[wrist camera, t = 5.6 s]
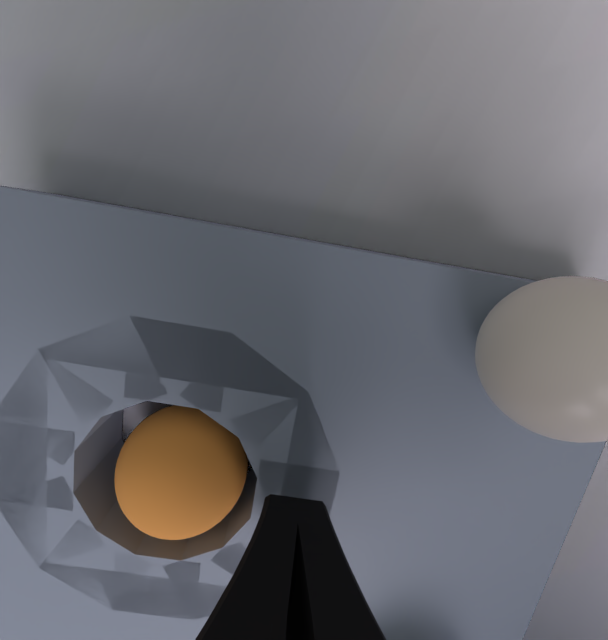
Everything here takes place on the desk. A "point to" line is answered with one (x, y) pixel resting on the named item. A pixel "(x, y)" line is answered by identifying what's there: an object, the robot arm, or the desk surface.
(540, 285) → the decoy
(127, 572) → the grey socket plate
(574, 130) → the desk surface
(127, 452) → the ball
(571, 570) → the desk surface
